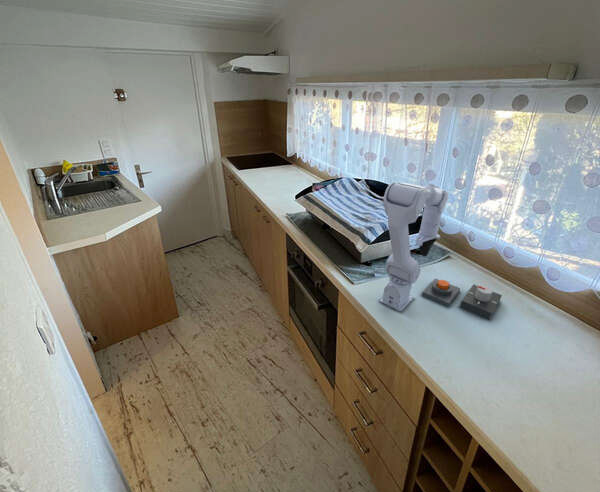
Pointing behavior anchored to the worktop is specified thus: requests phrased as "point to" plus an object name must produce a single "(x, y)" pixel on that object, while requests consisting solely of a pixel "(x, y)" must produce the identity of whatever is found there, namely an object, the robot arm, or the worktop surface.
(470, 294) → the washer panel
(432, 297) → the block
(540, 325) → the worktop surface
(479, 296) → the program dial
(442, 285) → the button
